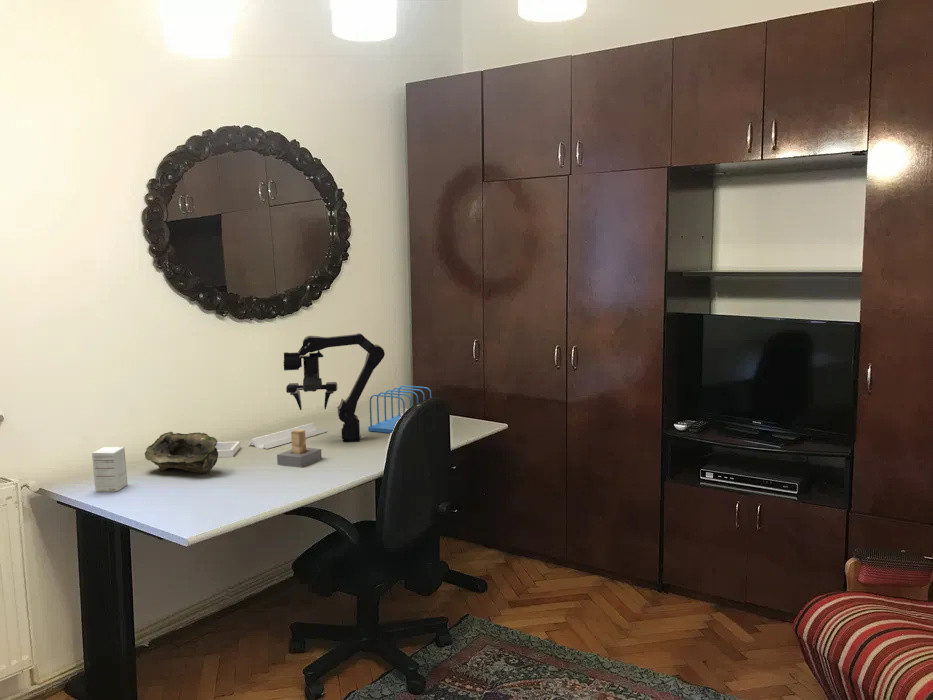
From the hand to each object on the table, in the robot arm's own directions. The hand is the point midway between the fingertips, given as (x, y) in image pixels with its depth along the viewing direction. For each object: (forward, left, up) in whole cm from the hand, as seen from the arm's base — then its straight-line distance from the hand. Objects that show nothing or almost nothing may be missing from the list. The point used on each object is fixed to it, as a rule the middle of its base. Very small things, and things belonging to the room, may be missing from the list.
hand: (313, 409), depth 304 cm
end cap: (+2, +27, -13) cm, 30 cm away
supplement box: (+58, +50, -13) cm, 78 cm away
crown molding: (+12, -9, -14) cm, 20 cm away
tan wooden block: (+2, +27, -12) cm, 29 cm away
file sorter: (-33, -23, -13) cm, 42 cm away
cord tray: (+34, +10, -13) cm, 38 cm away
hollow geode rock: (+39, +34, -13) cm, 54 cm away
